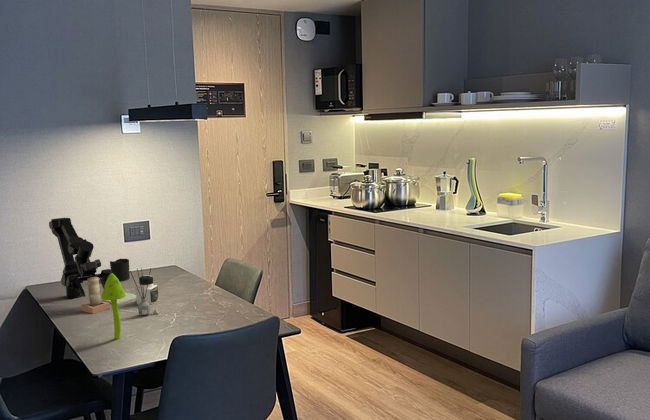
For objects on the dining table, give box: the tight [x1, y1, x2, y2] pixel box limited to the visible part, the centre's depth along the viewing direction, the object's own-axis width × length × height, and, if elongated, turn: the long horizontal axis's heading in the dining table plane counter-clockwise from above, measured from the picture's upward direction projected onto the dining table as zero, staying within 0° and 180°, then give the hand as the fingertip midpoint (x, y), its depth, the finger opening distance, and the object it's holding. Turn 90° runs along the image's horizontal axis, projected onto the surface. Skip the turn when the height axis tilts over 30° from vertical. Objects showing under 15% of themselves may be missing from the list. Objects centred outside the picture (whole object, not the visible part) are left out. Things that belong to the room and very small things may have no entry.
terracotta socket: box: [80, 301, 111, 314], centre depth 270 cm, size 8×8×2 cm
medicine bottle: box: [135, 274, 160, 306], centre depth 278 cm, size 7×7×12 cm
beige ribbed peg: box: [87, 277, 102, 307], centre depth 269 cm, size 4×4×14 cm
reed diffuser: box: [129, 267, 160, 316], centre depth 260 cm, size 10×7×20 cm
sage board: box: [100, 291, 137, 306], centre depth 285 cm, size 13×13×1 cm
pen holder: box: [109, 258, 131, 282], centre depth 322 cm, size 9×9×10 cm
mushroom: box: [101, 273, 126, 340], centre depth 231 cm, size 8×8×25 cm
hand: (95, 294), depth 268 cm, fingers open, 9 cm apart
